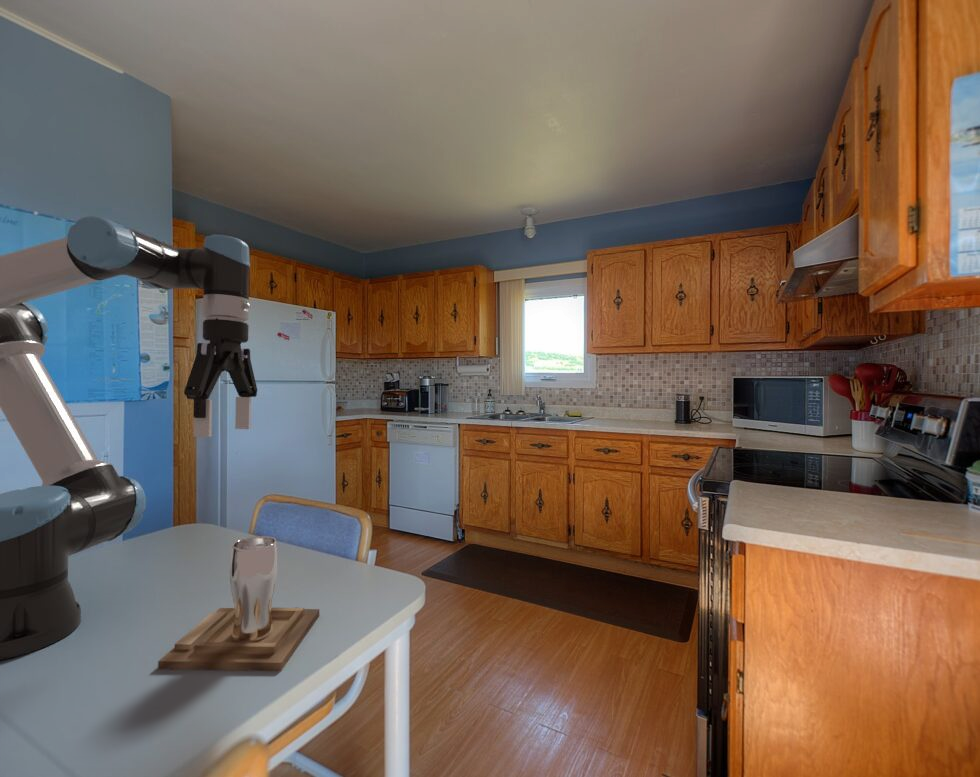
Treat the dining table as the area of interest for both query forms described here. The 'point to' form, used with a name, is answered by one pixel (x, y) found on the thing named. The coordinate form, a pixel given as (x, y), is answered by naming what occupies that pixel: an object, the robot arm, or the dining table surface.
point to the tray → (220, 652)
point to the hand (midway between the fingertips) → (224, 432)
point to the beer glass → (253, 587)
